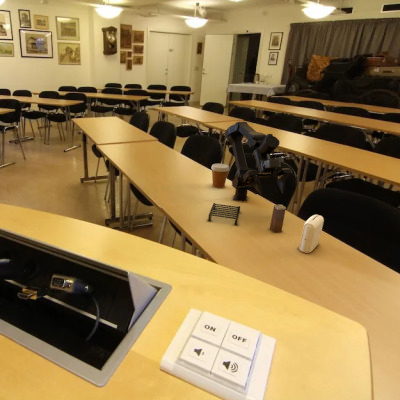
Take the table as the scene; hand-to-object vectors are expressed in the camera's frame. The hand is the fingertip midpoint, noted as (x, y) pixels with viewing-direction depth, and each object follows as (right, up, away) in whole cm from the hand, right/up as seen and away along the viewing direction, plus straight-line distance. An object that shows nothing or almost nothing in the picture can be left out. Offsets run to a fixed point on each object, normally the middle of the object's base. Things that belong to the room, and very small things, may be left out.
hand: (272, 193), depth 131 cm
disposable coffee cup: (-9, +5, +47) cm, 48 cm away
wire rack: (-16, -10, +12) cm, 22 cm away
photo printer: (+7, -20, -13) cm, 25 cm away
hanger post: (+1, -15, -1) cm, 15 cm away
